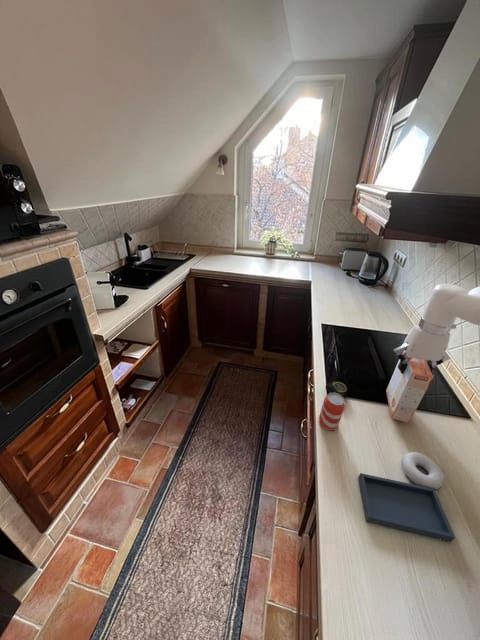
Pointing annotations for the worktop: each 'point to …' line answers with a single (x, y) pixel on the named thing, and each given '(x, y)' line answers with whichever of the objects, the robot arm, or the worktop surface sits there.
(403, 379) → the cracker box
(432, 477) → the donut
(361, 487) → the tray
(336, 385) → the tape measure
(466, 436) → the worktop surface
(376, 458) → the worktop surface
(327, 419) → the beverage can
